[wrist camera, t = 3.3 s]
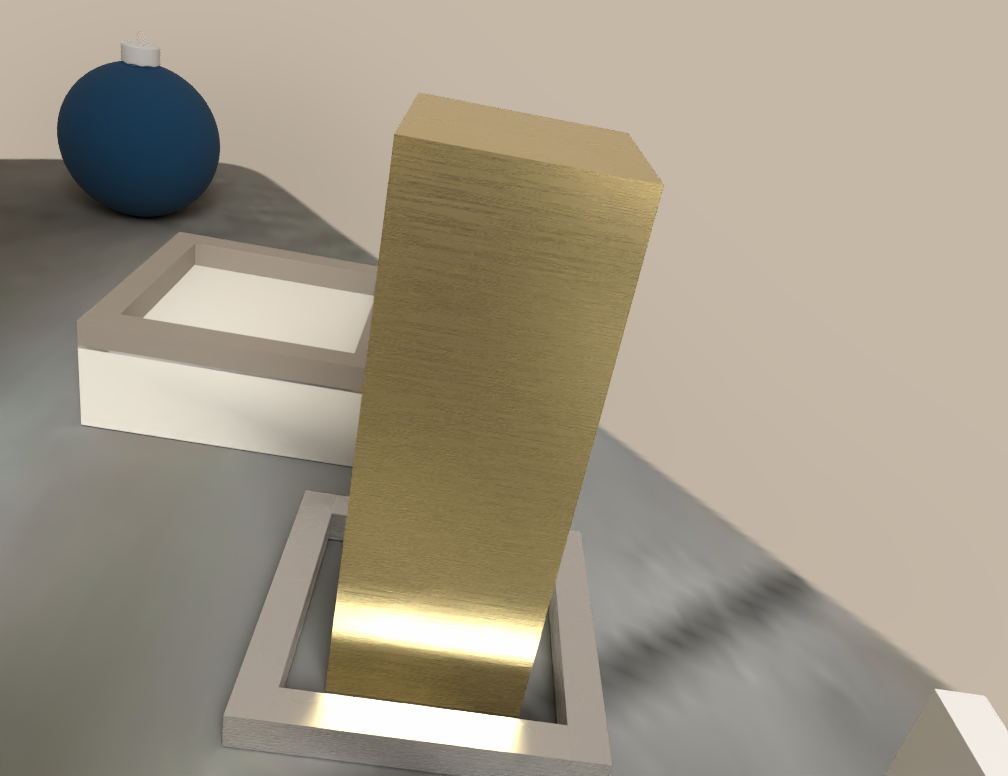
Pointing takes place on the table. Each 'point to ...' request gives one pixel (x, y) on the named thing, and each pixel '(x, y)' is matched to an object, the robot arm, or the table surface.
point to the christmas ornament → (138, 135)
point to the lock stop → (481, 394)
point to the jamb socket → (402, 727)
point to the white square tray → (232, 349)
